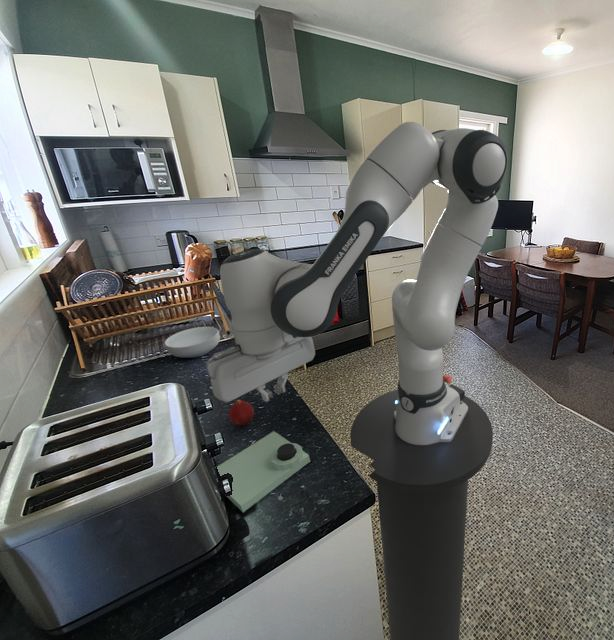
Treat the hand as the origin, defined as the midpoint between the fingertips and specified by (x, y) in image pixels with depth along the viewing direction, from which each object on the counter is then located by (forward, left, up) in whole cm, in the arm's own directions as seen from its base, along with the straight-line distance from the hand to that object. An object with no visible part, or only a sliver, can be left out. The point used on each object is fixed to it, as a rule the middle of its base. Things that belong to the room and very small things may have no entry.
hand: (274, 396), depth 71 cm
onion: (-1, -22, -19) cm, 29 cm away
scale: (+5, -4, -19) cm, 20 cm away
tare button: (0, 0, -16) cm, 16 cm away
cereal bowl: (-12, -75, -19) cm, 78 cm away
